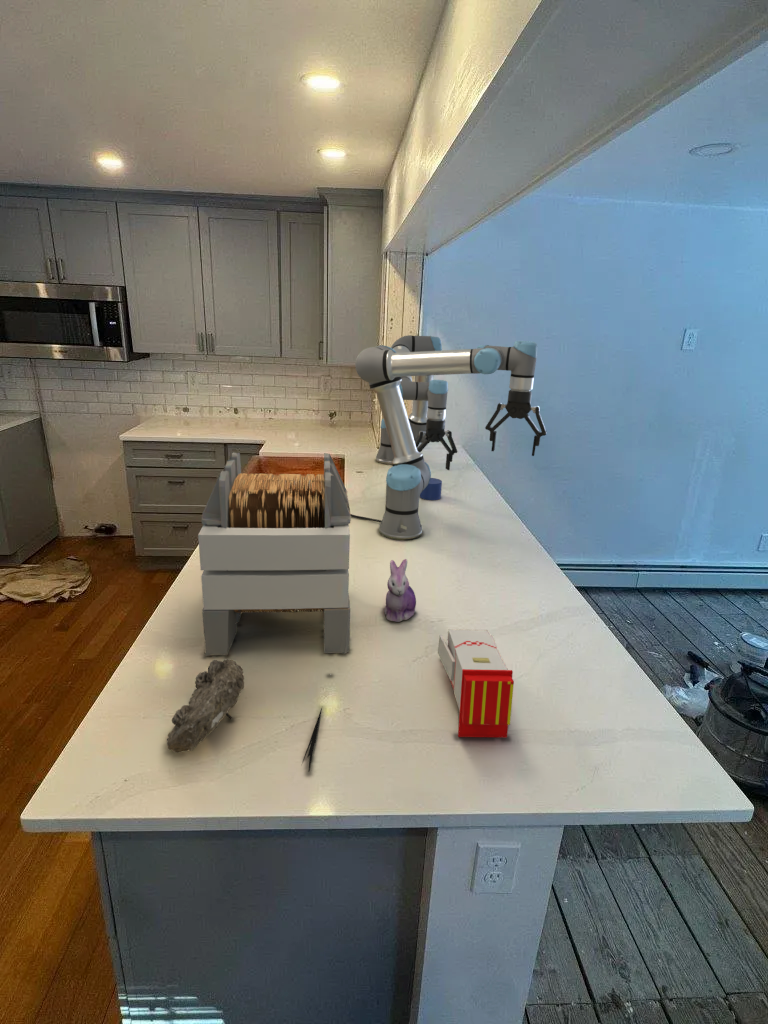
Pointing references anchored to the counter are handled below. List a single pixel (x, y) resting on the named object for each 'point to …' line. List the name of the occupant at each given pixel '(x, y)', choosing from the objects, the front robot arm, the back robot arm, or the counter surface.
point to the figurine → (399, 594)
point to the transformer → (275, 551)
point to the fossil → (206, 705)
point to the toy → (478, 682)
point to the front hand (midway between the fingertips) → (512, 452)
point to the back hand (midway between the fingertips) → (432, 469)
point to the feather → (313, 740)
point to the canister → (432, 490)
